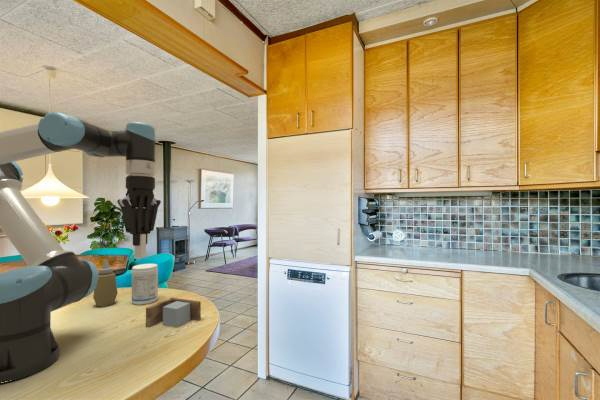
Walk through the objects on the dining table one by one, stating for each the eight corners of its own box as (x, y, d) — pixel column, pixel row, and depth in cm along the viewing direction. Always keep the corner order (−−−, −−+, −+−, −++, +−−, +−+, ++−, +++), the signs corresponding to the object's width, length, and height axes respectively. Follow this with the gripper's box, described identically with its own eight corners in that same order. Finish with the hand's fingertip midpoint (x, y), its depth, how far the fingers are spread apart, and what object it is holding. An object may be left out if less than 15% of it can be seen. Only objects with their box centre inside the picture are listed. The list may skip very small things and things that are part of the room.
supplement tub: (136, 298, 120) (136, 264, 120) (160, 296, 122) (160, 262, 122) (128, 306, 110) (128, 268, 110) (154, 304, 112) (154, 267, 113)
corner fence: (176, 332, 87) (176, 312, 87) (145, 326, 92) (145, 307, 92) (200, 318, 97) (200, 301, 97) (171, 314, 102) (171, 297, 102)
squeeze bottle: (122, 301, 116) (122, 257, 117) (107, 308, 108) (107, 261, 109) (104, 300, 117) (104, 257, 118) (87, 307, 109) (88, 261, 109)
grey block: (177, 327, 90) (176, 309, 91) (162, 325, 93) (162, 306, 93) (190, 320, 96) (190, 303, 96) (176, 318, 98) (176, 301, 98)
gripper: (130, 173, 75) (129, 261, 75) (167, 177, 88) (167, 253, 87) (110, 174, 78) (109, 259, 77) (149, 178, 90) (148, 252, 90)
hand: (140, 256), depth 82 cm, fingers closed
